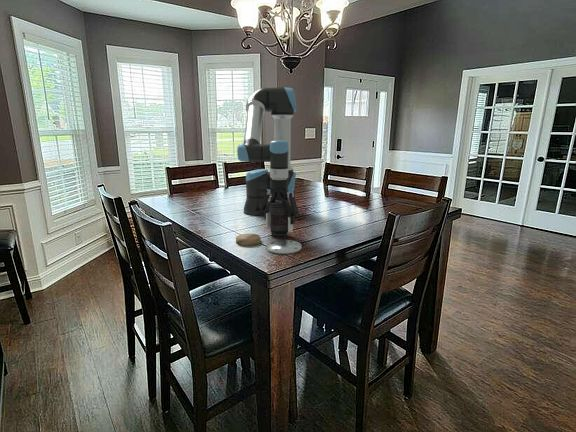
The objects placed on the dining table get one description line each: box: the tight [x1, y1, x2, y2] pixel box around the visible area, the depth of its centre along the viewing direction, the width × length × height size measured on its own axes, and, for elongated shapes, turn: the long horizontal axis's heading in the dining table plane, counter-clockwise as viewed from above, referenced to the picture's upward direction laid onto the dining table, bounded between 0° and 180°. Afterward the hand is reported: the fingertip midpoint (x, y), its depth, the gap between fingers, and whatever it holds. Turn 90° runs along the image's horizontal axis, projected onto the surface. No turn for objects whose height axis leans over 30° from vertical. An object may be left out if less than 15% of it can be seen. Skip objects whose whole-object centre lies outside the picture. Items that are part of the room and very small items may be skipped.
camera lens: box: [269, 200, 289, 239], centre depth 146 cm, size 8×8×15 cm
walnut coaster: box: [235, 233, 262, 247], centre depth 139 cm, size 10×10×2 cm
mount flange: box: [265, 239, 303, 256], centre depth 133 cm, size 14×14×1 cm
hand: (279, 229), depth 147 cm, fingers open, 11 cm apart
